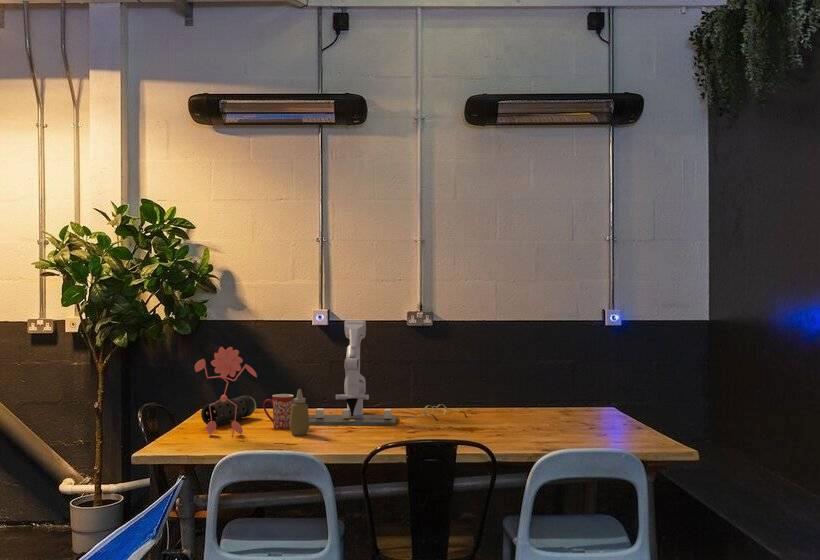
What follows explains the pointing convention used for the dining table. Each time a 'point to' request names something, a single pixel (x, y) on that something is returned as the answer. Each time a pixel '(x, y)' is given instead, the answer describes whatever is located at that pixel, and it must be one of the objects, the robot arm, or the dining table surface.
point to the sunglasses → (437, 411)
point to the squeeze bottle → (299, 416)
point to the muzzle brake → (228, 410)
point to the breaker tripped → (346, 413)
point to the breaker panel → (353, 420)
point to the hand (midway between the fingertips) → (352, 415)
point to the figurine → (225, 365)
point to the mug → (280, 410)
